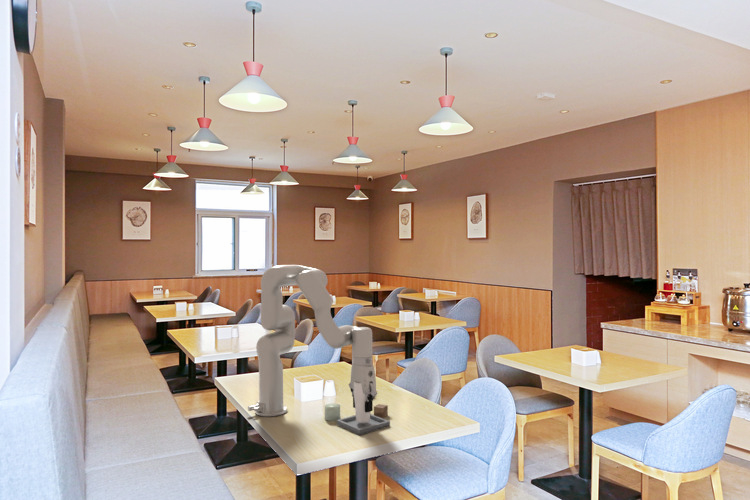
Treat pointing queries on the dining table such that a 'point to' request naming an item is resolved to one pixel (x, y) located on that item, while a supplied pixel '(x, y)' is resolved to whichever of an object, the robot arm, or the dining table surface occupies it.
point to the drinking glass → (360, 404)
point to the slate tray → (363, 424)
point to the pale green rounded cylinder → (332, 412)
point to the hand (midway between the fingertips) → (362, 408)
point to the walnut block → (381, 410)
